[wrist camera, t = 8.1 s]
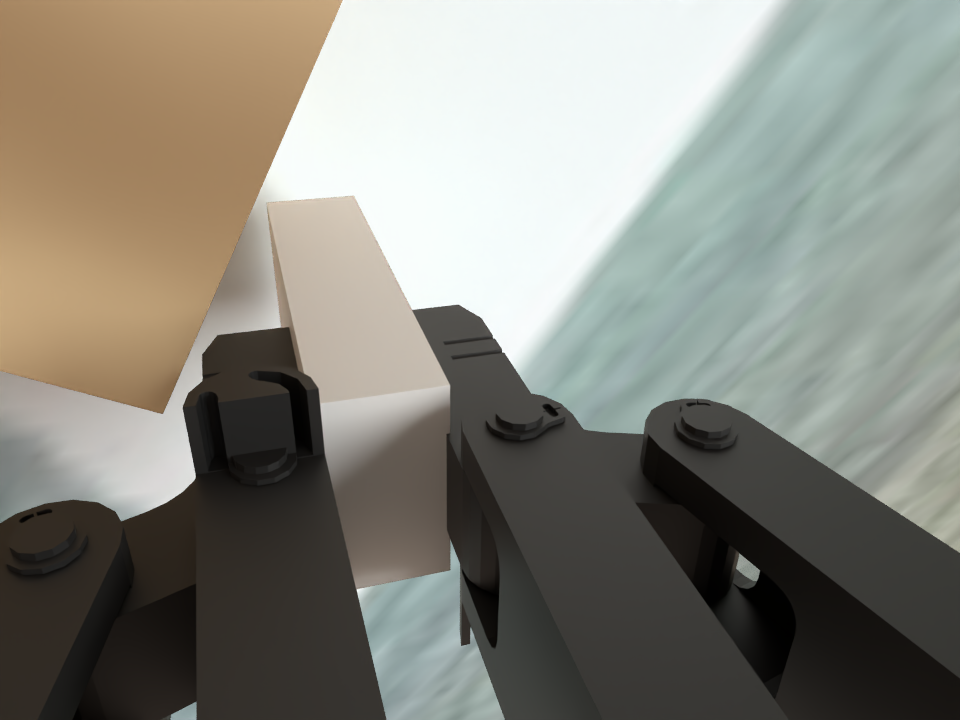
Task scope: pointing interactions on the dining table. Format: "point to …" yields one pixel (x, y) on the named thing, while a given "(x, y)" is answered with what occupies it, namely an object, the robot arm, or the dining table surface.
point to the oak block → (134, 174)
